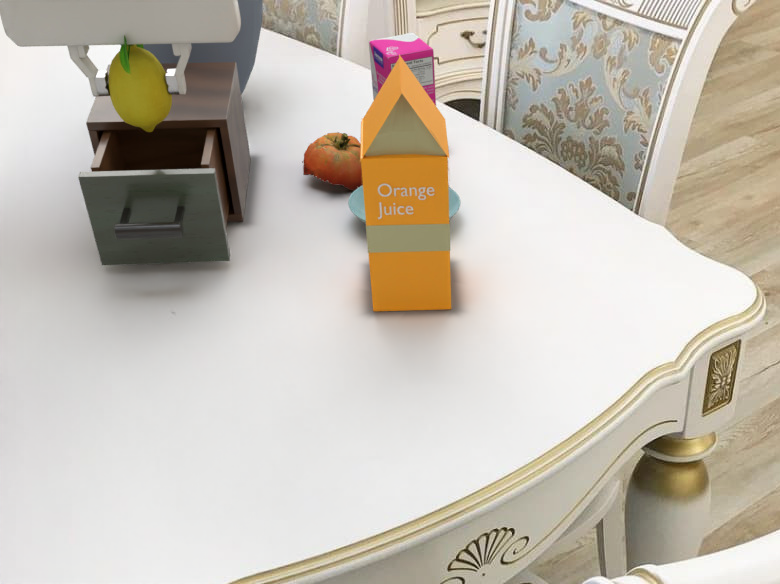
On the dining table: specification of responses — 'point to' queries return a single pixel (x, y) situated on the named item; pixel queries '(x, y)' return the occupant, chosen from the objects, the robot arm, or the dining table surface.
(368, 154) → the orange juice
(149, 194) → the drawer
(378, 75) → the supplement box
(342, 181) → the tomato
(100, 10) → the robot arm
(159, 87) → the lemon
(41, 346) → the dining table surface
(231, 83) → the cabinet
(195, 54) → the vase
